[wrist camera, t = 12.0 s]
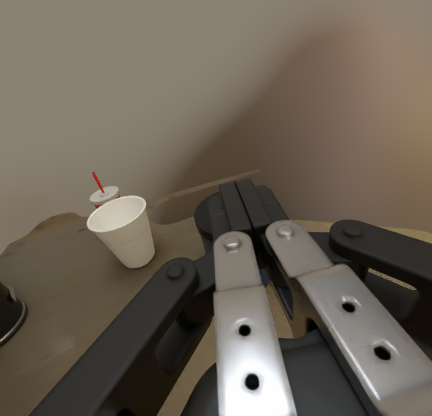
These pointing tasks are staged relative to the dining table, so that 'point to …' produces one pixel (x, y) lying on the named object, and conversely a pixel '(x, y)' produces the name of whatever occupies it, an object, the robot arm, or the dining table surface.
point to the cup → (124, 230)
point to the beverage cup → (104, 194)
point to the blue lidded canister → (206, 232)
